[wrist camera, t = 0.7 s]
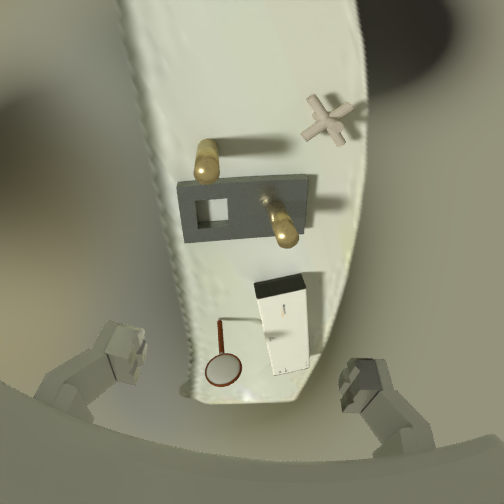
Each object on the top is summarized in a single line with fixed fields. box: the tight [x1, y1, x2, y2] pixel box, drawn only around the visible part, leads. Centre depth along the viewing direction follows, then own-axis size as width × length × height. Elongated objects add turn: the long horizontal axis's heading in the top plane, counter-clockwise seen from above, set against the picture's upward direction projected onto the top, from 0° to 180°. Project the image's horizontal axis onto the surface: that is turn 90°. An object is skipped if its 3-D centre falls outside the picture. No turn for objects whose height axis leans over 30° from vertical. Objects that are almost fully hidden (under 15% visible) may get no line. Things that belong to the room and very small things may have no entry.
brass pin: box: [194, 139, 220, 185], centre depth 46 cm, size 4×4×13 cm
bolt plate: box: [176, 174, 308, 248], centre depth 53 cm, size 24×12×13 cm, turn 91°
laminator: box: [254, 274, 310, 376], centre depth 78 cm, size 34×12×6 cm, turn 9°
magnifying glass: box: [205, 319, 242, 387], centre depth 68 cm, size 9×2×20 cm, turn 106°
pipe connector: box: [300, 94, 353, 147], centre depth 46 cm, size 10×10×10 cm
